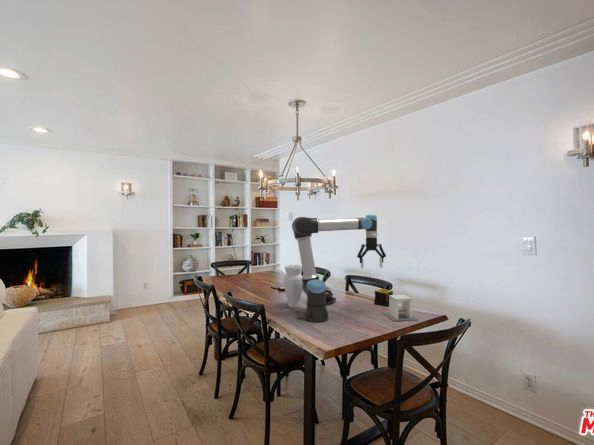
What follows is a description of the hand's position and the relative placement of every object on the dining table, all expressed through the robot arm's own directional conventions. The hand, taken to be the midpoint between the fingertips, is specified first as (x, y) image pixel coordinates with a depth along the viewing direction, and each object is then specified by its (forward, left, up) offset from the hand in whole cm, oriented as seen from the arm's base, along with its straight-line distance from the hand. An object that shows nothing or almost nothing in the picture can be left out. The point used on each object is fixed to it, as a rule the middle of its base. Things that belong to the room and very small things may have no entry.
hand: (371, 267), depth 207 cm
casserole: (-31, +21, -29) cm, 47 cm away
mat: (+11, -19, -29) cm, 36 cm away
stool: (+11, -25, -22) cm, 35 cm away
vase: (-53, +15, -29) cm, 62 cm away
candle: (+13, +10, -29) cm, 33 cm away
